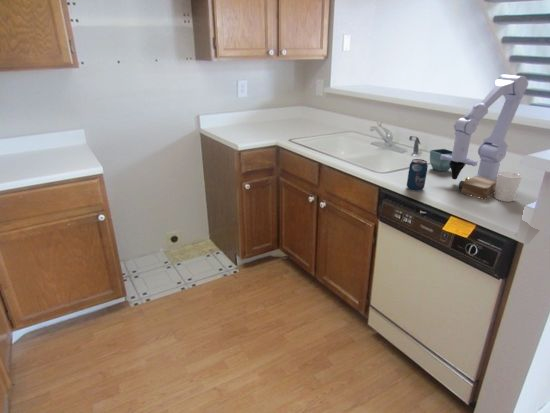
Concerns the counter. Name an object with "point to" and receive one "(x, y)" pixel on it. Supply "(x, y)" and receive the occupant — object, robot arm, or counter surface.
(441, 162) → the flower pot
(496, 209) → the counter surface
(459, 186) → the plunger
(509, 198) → the white cup
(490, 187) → the catch block
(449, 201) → the counter surface
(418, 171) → the soda can
